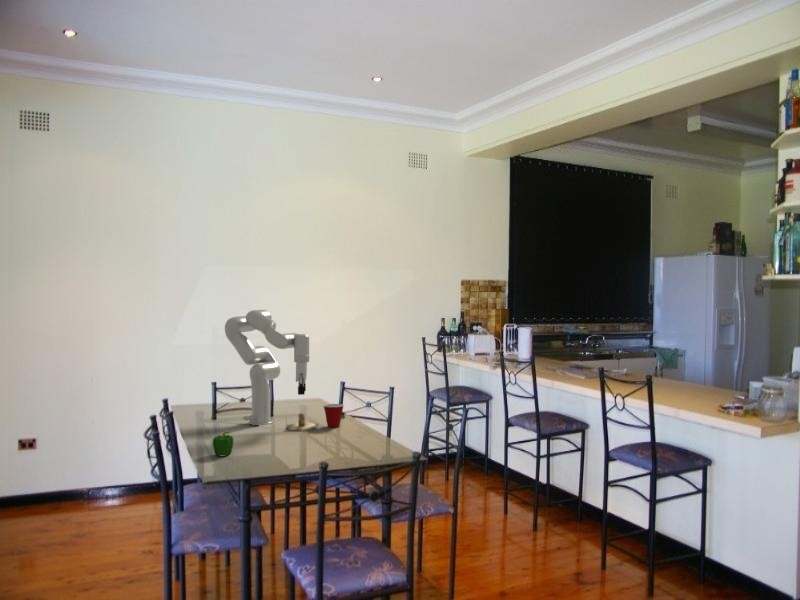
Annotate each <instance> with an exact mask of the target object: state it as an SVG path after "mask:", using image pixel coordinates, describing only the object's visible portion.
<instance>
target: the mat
mask: <svg viewBox="0 0 800 600" xmlns="http://www.w3.org/2000/svg"><path fill="white" fill-rule="evenodd" d="M314 424H315V425H316V428H315V429H312V430H308V431H292V430H289V429H288V425H289V424H286V426H285V429H284V431H283V432H284V433H298V432H299V433H300V432H318V428H319V423H314Z"/></svg>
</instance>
